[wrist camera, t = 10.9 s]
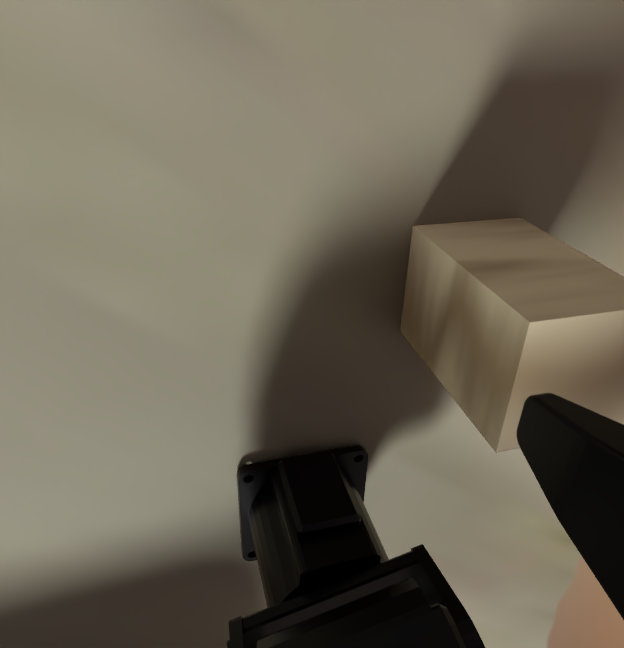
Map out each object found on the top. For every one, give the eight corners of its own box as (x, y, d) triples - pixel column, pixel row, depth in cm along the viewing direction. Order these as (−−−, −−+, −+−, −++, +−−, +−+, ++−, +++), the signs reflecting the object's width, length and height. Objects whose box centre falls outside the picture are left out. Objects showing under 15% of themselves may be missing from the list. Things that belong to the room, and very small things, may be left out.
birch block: (497, 318, 26) (620, 428, 20) (400, 331, 25) (496, 452, 18) (520, 217, 24) (670, 303, 17) (412, 225, 22) (529, 322, 16)
